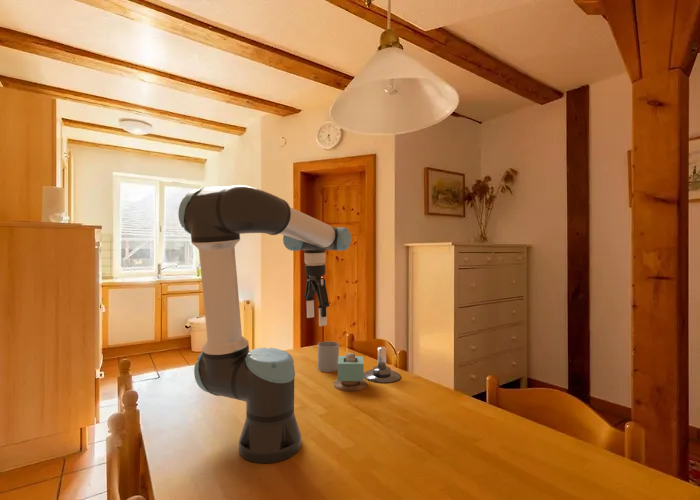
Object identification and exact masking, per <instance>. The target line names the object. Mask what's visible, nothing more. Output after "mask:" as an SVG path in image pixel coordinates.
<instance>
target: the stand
mask: <svg viewBox="0 0 700 500" xmlns="http://www.w3.org/2000/svg"><path fill="white" fill-rule="evenodd" d="M345 356H346V362H355V356H356V353H353V352H348V353H346V354H345ZM333 387H334V388H335V389H337V390H340V391H344V392H359V391H362V390H365V389H366V388H367V387H368V382H367V381H366V379H364V381H338V379H335V381H334V382H333Z"/></svg>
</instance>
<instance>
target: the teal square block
mask: <svg viewBox="0 0 700 500" xmlns="http://www.w3.org/2000/svg"><path fill="white" fill-rule="evenodd" d="M364 365H365V364H364V356H363V355H358V356H357V355H355V362H346V355H339V356H338V370H337V380H338V381H364V380H365V378H364V372H365V371H364V367H365V366H364Z"/></svg>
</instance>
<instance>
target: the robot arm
mask: <svg viewBox="0 0 700 500" xmlns="http://www.w3.org/2000/svg"><path fill="white" fill-rule="evenodd" d="M177 213H178V221H179V224H180V225H181V227H182V228H183V229H184V231H185V232H186V233H188V234H190V239H191V244H192V245H193V246H195V248H197V249H198V253H199V262H200V263H199V267H200V274H201V285H202V287H201V288H202V297H203V305H204V306H203V307H204V317H205V319H204V320H205V327H206V338H207V339H206V340H207V341H206V343H205V344H204V345H202V347H201V352H200V353H199V354H198V356H197V362H195V364H194V369H193V371H194V372H193V373H194V379H195V382H196V384H197V385H198V387H199V389H200V390H202V391H204V392H206V393H209V394H211V395H213V396H217V397H225V398H228V399H233V400H238V401H243V402H245V403H246V409H245V410H246V411H245V412H246V414H245V415H246V416H245V417H246V418H245V421H244V424H243V427H242V429H241V430H242V431H241V432H240V436H239V440H238V453H239V455H240V456H241V458H243V459H244V460H247V462H248V461H249V462H252V463H256V464H271V463H279V462H281V461H284V460H287V459H289V458H291V457H293V456H294V455H296V454H297V453H298V452H299V450H300V449H301V446H302V434H301V431H300V427H299V425H298V422H297V417H296V415H295V377H296V370H295V362H294V358H293V356H292V355H291V354H290V353H289V352H287V351H285V350H282V349H279V348H274V347H269V348H268V347H258V348H254V349H251V350H250V346H249V340H248V339H247V338H246V337H244V336H243V333H242V319H241V309H240V297H239V284H238V274H237V271H238V270H237V263H236V262H237V261H236V248H235V247H236V245H237V244H238V243H239V242H240V241H241V235H242V234H267V235H269V236H277V235H282V236H283V238H282V242H283V246H285V248H286V249H287V250H288V251H291V252H292V251H293V252H298V251H304V254H303V255H304V264H305V265H304V274H305V276H306V282H305V289H304V295H303V296H304V299H305V301H306V318H307V319H312V318H315V295H316V298H317V302H318V307H317V309H318V326H319V327H325V326H328V315H327V314H328V313H327V312H328V311H327V309H328V307H330V302H329V297H328V296H329V295H328V292H327V291H328V290H327V286H326V285H327V284H326V279H325V278H322V277H323V276H325V275H326V265H325V263H326V257H327V255H326V251H338V252H340V251H347V250H348V249H349V248H350V246H351V243H352V235H351V232H350V230H349V229H348V228H347V227H345V226H344V227H342V226H338V227H336V226H332V225H330V224H328V223H325V222H323V221H321V220H319V219H317V218H315V217H312V216H311V215H308V214H306V213H304V212H303V211H302V212H301V211H299V210H298V209H295V208H293V207H291V206H290V204H289V203H288V202H287V201H286V200H285V199H283V198H280V197H279V196H277V195H274V194H272V193H269V192H267V191H265V190H262V189H259V188H255V187H254V186H253V187H252V186H249V185H243V184H238V185H237V184H236V185H226V186H210V187H209V186H206V187H201V188H198V189H197V188H196V189H193V190H191V191H189V192H188V193H186V195H185V196H184V197H183V198H182V199H181V201H180V204H179V207H178V212H177Z"/></svg>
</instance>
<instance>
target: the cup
mask: <svg viewBox="0 0 700 500" xmlns="http://www.w3.org/2000/svg"><path fill="white" fill-rule="evenodd" d="M339 344H340V343H338V342H337V341H322V342H318V343H317V370H318V371H319V370H320V372H322V371H323V372H324V373H331V372H332V371H333V372H337V371H338V356H340V353H339V350H340V349H339V348H340V345H339Z"/></svg>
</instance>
